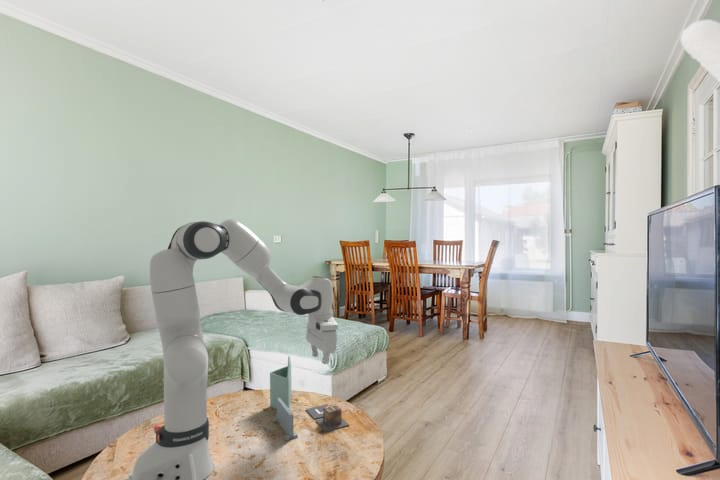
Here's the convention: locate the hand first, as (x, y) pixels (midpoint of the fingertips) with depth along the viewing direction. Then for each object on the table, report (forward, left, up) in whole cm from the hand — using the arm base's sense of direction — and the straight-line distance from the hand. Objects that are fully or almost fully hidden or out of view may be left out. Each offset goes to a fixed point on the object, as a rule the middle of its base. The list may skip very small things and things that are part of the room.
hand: (319, 359), depth 134 cm
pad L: (+4, +9, -23) cm, 25 cm away
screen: (-12, +3, -23) cm, 26 cm away
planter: (-8, +22, -23) cm, 33 cm away
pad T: (+4, -2, -23) cm, 23 cm away
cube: (+4, -2, -22) cm, 23 cm away
